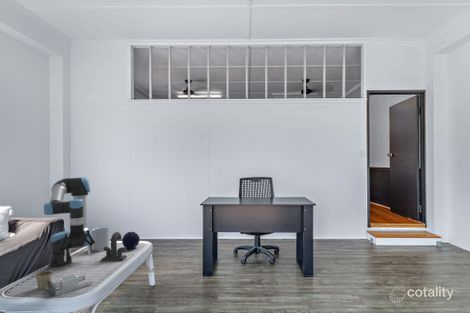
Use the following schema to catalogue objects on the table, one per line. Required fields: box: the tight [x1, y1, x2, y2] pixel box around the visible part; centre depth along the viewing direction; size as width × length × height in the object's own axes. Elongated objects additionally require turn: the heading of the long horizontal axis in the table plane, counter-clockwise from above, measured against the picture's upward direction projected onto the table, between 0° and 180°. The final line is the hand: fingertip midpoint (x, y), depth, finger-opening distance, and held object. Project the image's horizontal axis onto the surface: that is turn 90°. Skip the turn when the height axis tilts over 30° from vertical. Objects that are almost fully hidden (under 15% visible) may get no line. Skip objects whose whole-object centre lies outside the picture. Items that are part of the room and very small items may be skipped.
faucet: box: [100, 231, 128, 262], centre depth 232 cm, size 18×16×20 cm
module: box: [59, 274, 80, 290], centre depth 179 cm, size 6×9×6 cm, turn 135°
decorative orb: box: [121, 231, 140, 250], centre depth 256 cm, size 14×15×15 cm
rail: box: [47, 275, 93, 297], centre depth 179 cm, size 13×21×5 cm, turn 134°
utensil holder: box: [91, 226, 111, 252], centre depth 256 cm, size 15×15×18 cm
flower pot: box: [34, 270, 54, 291], centre depth 179 cm, size 9×9×9 cm
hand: (77, 258), depth 182 cm, fingers open, 13 cm apart
